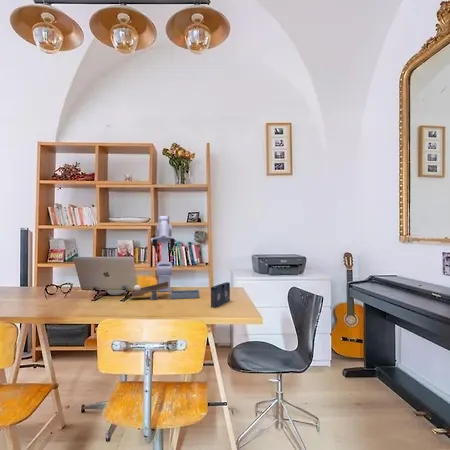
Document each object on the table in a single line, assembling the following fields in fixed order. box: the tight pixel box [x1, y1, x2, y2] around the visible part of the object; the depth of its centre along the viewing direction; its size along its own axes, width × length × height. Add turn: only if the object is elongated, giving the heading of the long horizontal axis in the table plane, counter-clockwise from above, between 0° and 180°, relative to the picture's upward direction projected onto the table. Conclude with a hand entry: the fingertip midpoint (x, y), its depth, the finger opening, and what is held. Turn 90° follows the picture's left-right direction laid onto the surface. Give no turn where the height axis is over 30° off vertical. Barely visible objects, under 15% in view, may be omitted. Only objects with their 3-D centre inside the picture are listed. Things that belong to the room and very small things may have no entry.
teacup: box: [106, 290, 125, 296], centre depth 206 cm, size 14×11×8 cm
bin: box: [169, 287, 200, 300], centre depth 196 cm, size 9×16×4 cm, turn 98°
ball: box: [132, 284, 142, 291], centre depth 192 cm, size 4×4×4 cm
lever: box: [130, 282, 169, 297], centre depth 197 cm, size 15×20×3 cm
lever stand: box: [149, 289, 159, 301], centre depth 194 cm, size 11×4×6 cm, turn 8°
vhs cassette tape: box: [210, 281, 231, 309], centre depth 178 cm, size 18×3×10 cm, turn 154°
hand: (163, 252), depth 193 cm, fingers open, 7 cm apart
